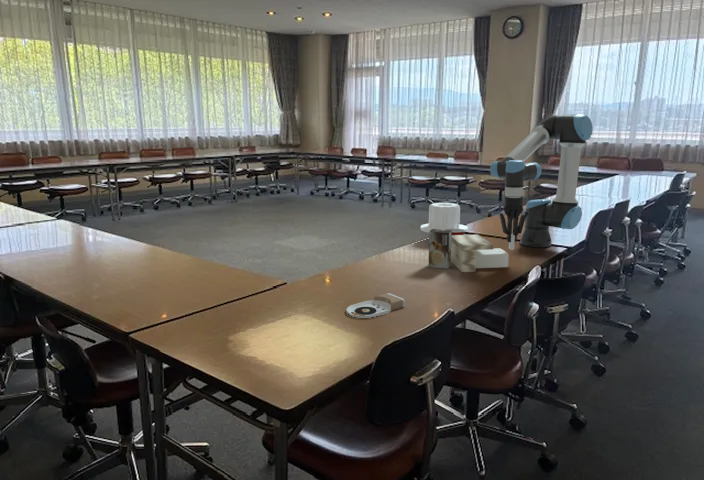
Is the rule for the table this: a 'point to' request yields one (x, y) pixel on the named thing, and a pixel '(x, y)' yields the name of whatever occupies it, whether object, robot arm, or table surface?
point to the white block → (492, 258)
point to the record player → (376, 306)
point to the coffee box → (440, 248)
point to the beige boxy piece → (467, 251)
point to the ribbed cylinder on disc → (443, 217)
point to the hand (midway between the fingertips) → (511, 248)
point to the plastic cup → (457, 231)
